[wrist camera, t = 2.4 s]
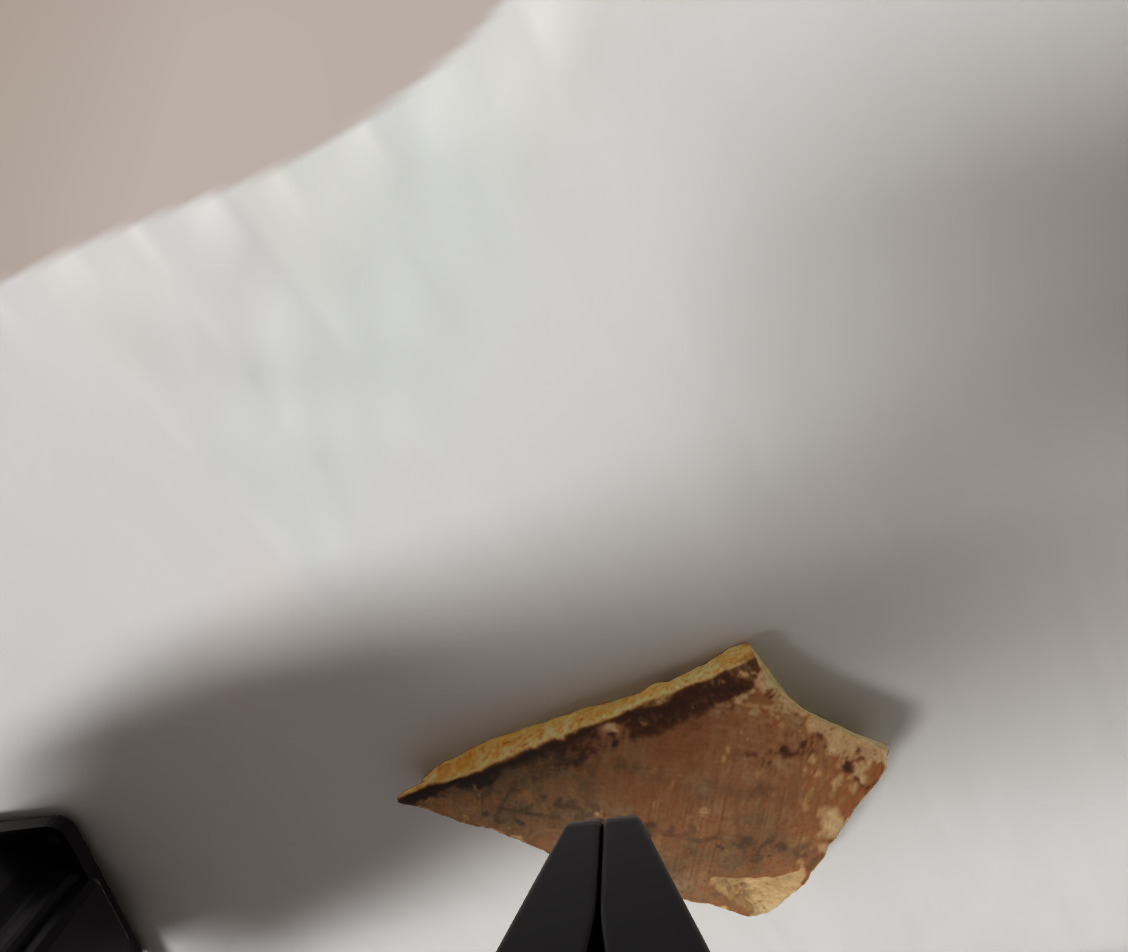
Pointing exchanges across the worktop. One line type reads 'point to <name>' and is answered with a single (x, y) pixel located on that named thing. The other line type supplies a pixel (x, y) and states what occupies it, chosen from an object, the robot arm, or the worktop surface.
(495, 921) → the worktop surface
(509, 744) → the shard
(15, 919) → the robot arm
